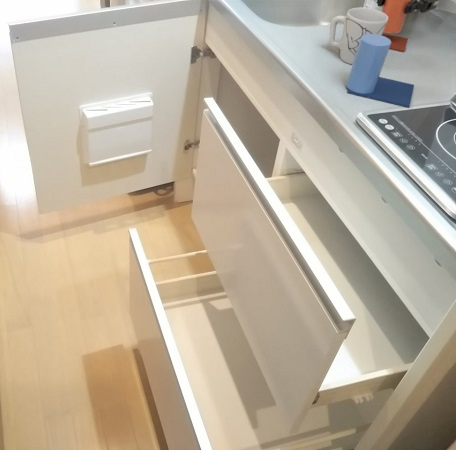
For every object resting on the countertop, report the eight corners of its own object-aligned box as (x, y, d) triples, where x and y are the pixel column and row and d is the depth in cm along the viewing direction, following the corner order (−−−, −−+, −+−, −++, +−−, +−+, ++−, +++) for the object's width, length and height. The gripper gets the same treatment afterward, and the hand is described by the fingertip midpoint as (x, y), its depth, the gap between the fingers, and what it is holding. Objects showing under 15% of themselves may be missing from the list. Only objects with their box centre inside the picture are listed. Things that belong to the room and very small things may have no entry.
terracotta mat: (407, 39, 126) (408, 38, 126) (404, 52, 120) (404, 50, 120) (365, 31, 129) (366, 29, 129) (360, 43, 123) (361, 41, 123)
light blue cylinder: (376, 84, 107) (392, 37, 100) (372, 96, 103) (389, 48, 96) (348, 78, 109) (363, 31, 102) (343, 89, 105) (358, 41, 98)
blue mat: (413, 86, 108) (414, 84, 108) (409, 107, 101) (409, 106, 101) (355, 73, 111) (355, 71, 111) (347, 93, 105) (347, 91, 104)
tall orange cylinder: (402, 26, 124) (418, -18, 117) (399, 35, 120) (415, -10, 113) (378, 22, 125) (392, -22, 119) (374, 30, 122) (389, -15, 115)
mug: (316, 56, 117) (327, 11, 110) (331, 44, 122) (343, 0, 115) (365, 71, 112) (380, 25, 105) (378, 58, 117) (394, 14, 110)
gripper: (396, -36, 127) (368, -20, 118) (456, -22, 121) (431, -4, 111) (386, -5, 133) (358, 13, 123) (443, 11, 126) (418, 31, 116)
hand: (393, 5), depth 117 cm, fingers closed on tall orange cylinder, 5 cm apart
